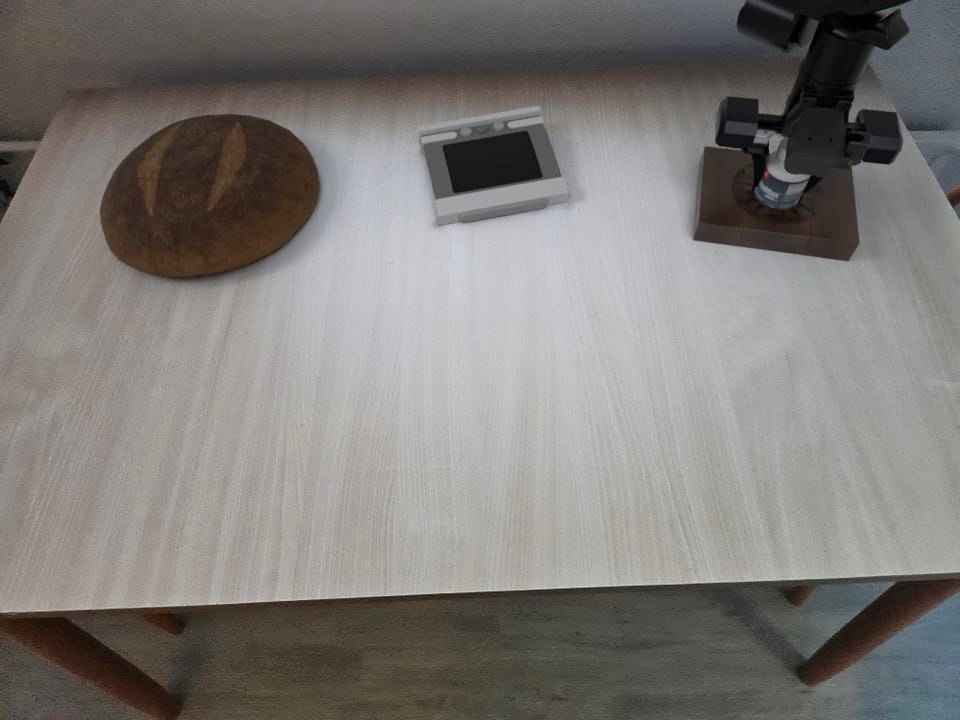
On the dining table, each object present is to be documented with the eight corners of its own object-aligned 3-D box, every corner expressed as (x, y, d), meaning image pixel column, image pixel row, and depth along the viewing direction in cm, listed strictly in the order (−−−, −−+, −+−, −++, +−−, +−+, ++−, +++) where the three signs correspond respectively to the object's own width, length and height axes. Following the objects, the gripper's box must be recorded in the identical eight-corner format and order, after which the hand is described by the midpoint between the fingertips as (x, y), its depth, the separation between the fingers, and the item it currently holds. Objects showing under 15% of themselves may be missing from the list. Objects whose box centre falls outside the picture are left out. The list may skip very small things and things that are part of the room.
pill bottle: (742, 195, 81) (764, 137, 74) (778, 183, 82) (803, 124, 74) (766, 223, 78) (792, 165, 71) (803, 211, 79) (833, 152, 72)
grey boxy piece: (538, 105, 89) (571, 176, 79) (538, 135, 93) (569, 206, 83) (417, 126, 88) (435, 201, 78) (422, 155, 92) (439, 230, 82)
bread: (82, 295, 79) (37, 246, 72) (136, 148, 94) (104, 95, 86) (311, 280, 79) (290, 230, 71) (330, 135, 93) (314, 81, 86)
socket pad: (841, 180, 83) (851, 162, 81) (848, 261, 76) (859, 243, 74) (699, 164, 86) (704, 146, 84) (692, 240, 79) (698, 222, 77)
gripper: (733, 109, 62) (696, 224, 76) (943, 130, 59) (866, 246, 72) (736, 44, 68) (701, 161, 81) (928, 60, 65) (859, 179, 78)
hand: (779, 187), depth 78 cm, fingers closed on pill bottle, 5 cm apart
